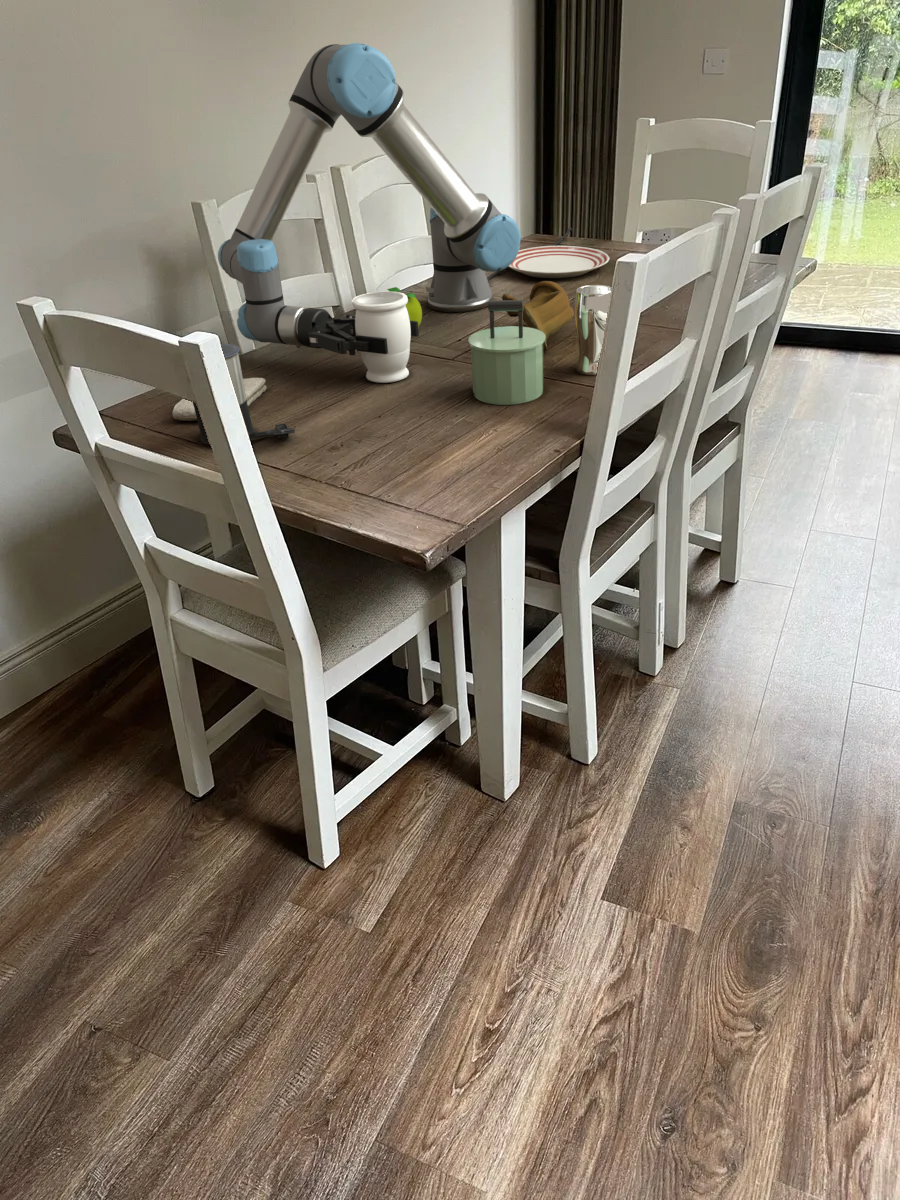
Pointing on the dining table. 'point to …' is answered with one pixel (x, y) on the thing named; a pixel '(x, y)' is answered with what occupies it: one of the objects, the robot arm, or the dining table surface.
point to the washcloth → (252, 391)
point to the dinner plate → (558, 261)
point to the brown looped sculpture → (545, 308)
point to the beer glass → (591, 325)
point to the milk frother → (242, 399)
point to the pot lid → (506, 332)
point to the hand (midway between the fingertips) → (402, 337)
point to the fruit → (411, 306)
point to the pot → (507, 376)
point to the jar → (384, 333)
